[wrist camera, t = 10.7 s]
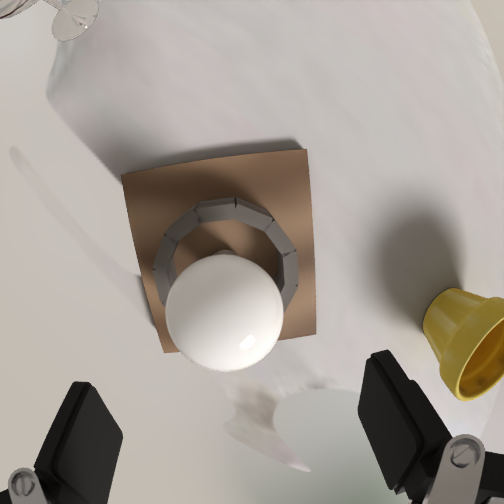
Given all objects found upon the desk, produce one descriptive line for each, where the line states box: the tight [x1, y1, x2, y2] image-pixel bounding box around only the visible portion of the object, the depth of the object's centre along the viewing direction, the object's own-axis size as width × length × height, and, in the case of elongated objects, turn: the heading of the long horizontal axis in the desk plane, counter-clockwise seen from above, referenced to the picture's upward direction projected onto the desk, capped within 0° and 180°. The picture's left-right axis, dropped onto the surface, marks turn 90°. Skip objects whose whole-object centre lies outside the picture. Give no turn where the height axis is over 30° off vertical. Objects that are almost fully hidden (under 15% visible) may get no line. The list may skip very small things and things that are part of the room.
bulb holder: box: [121, 149, 316, 353], centre depth 23 cm, size 16×14×4 cm
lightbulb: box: [165, 250, 284, 372], centre depth 18 cm, size 6×6×11 cm
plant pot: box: [423, 288, 504, 401], centre depth 24 cm, size 10×10×10 cm
